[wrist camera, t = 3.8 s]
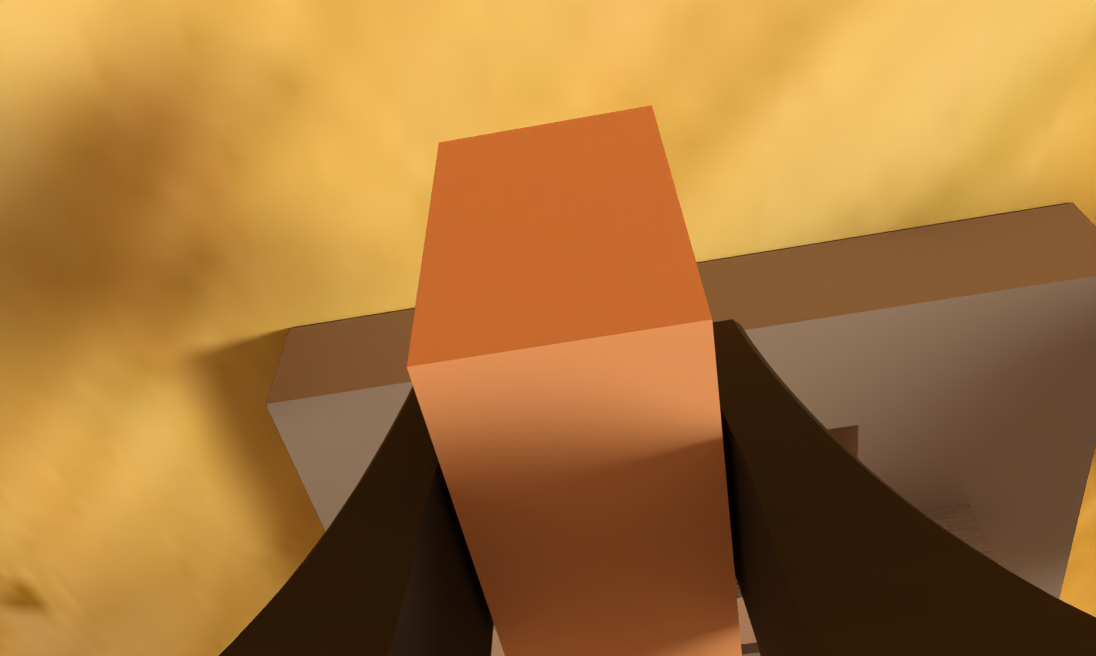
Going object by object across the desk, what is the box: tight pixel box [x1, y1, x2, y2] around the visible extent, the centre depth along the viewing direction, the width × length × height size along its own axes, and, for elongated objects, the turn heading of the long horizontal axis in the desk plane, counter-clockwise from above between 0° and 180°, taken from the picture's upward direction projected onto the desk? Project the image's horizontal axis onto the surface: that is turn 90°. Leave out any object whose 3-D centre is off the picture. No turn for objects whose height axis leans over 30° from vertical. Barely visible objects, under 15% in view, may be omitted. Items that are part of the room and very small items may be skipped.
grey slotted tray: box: [266, 203, 1096, 656], centre depth 27 cm, size 20×16×5 cm
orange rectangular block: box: [407, 106, 742, 656], centre depth 13 cm, size 3×6×5 cm, turn 10°
